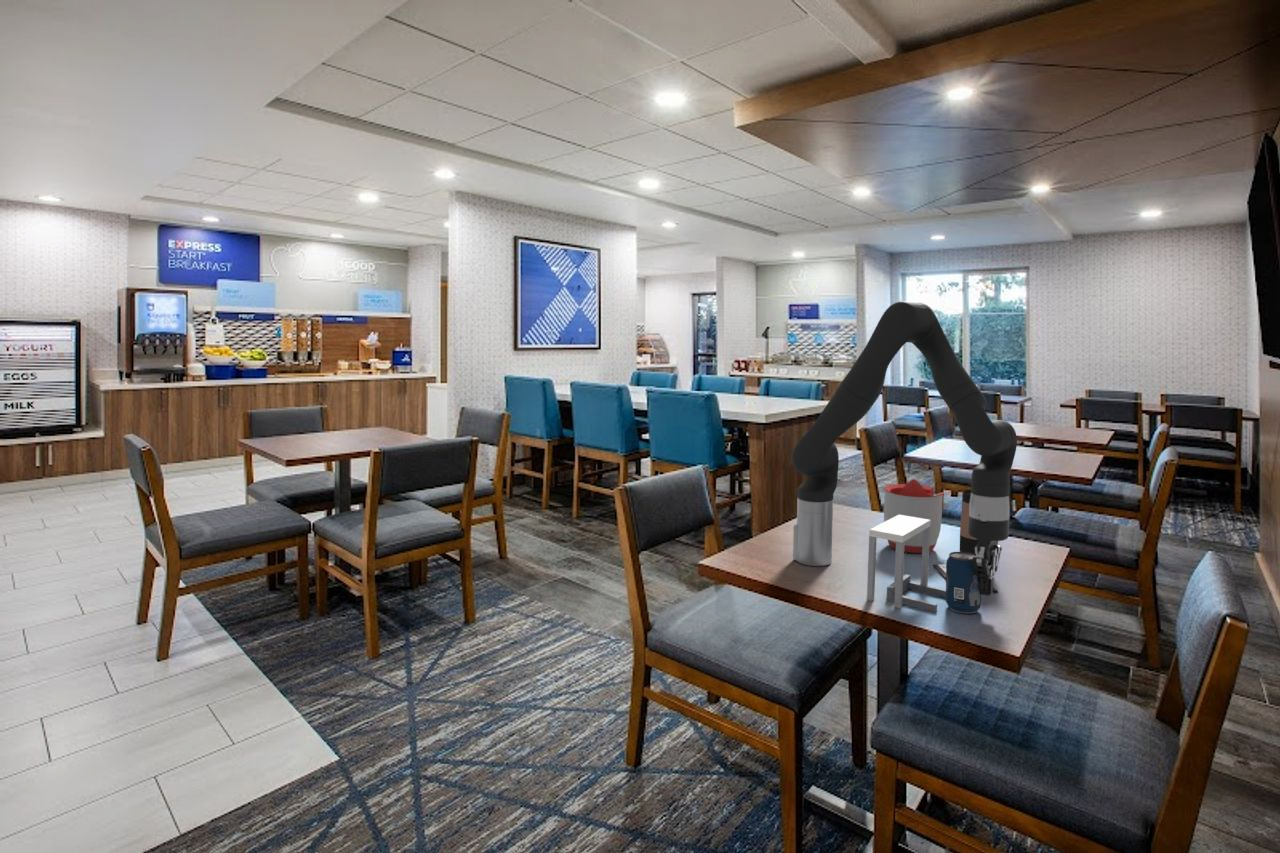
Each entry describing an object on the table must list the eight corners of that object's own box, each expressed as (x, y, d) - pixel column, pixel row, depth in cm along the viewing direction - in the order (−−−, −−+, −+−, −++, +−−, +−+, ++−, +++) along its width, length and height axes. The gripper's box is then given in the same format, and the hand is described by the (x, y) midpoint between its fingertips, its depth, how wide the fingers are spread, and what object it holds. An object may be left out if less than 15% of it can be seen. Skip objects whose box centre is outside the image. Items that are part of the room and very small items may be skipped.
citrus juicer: (958, 556, 181) (961, 484, 178) (895, 557, 180) (898, 485, 178) (930, 539, 196) (933, 473, 194) (873, 540, 196) (875, 474, 193)
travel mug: (954, 562, 175) (958, 488, 173) (986, 564, 174) (990, 489, 171) (962, 572, 168) (966, 495, 166) (995, 574, 167) (1000, 496, 164)
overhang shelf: (866, 599, 151) (869, 529, 149) (896, 579, 163) (898, 514, 161) (930, 616, 141) (933, 541, 139) (956, 593, 154) (959, 524, 152)
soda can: (951, 600, 150) (951, 549, 149) (984, 607, 145) (985, 554, 144) (941, 610, 145) (941, 556, 144) (975, 617, 140) (976, 561, 139)
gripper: (978, 506, 147) (976, 582, 149) (960, 518, 137) (957, 599, 139) (1016, 511, 142) (1013, 589, 144) (999, 524, 132) (996, 607, 134)
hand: (985, 594), depth 141 cm, fingers closed
